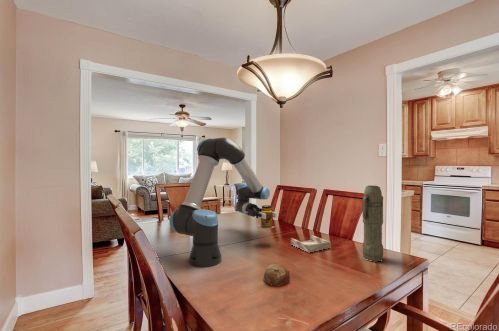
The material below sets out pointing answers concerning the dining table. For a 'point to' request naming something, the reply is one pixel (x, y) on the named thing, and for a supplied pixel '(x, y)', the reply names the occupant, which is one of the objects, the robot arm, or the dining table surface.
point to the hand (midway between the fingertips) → (270, 215)
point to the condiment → (268, 221)
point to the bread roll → (276, 274)
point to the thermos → (372, 223)
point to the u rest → (311, 244)
